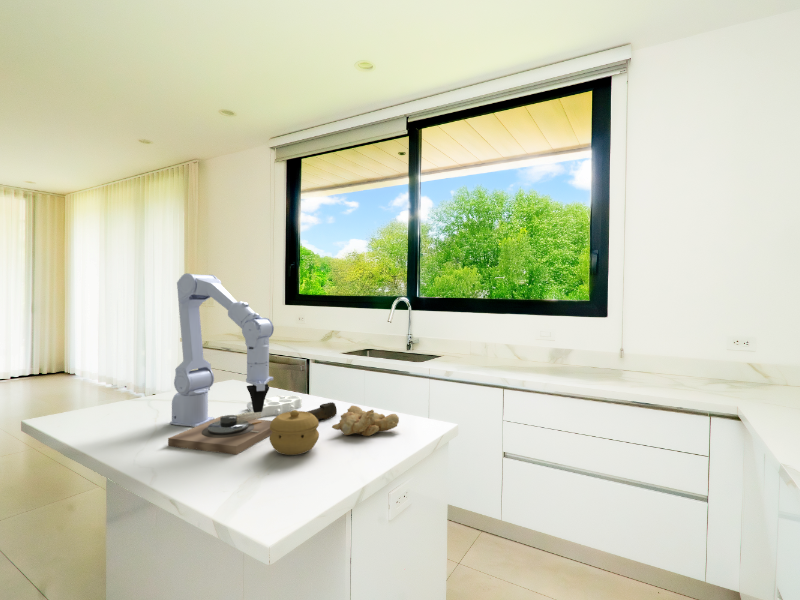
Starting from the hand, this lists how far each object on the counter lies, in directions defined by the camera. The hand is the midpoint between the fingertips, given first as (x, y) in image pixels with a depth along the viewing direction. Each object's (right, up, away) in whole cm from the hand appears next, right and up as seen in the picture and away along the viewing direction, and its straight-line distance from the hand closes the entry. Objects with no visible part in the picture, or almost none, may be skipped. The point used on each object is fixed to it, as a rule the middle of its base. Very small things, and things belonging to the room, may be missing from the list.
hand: (257, 411), depth 115 cm
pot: (+13, -6, -13) cm, 20 cm away
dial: (-5, -4, -2) cm, 7 cm away
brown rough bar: (+12, -6, +11) cm, 18 cm away
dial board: (-7, -6, -3) cm, 10 cm away
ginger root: (+29, -6, +2) cm, 29 cm away
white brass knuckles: (-3, -6, +24) cm, 25 cm away
